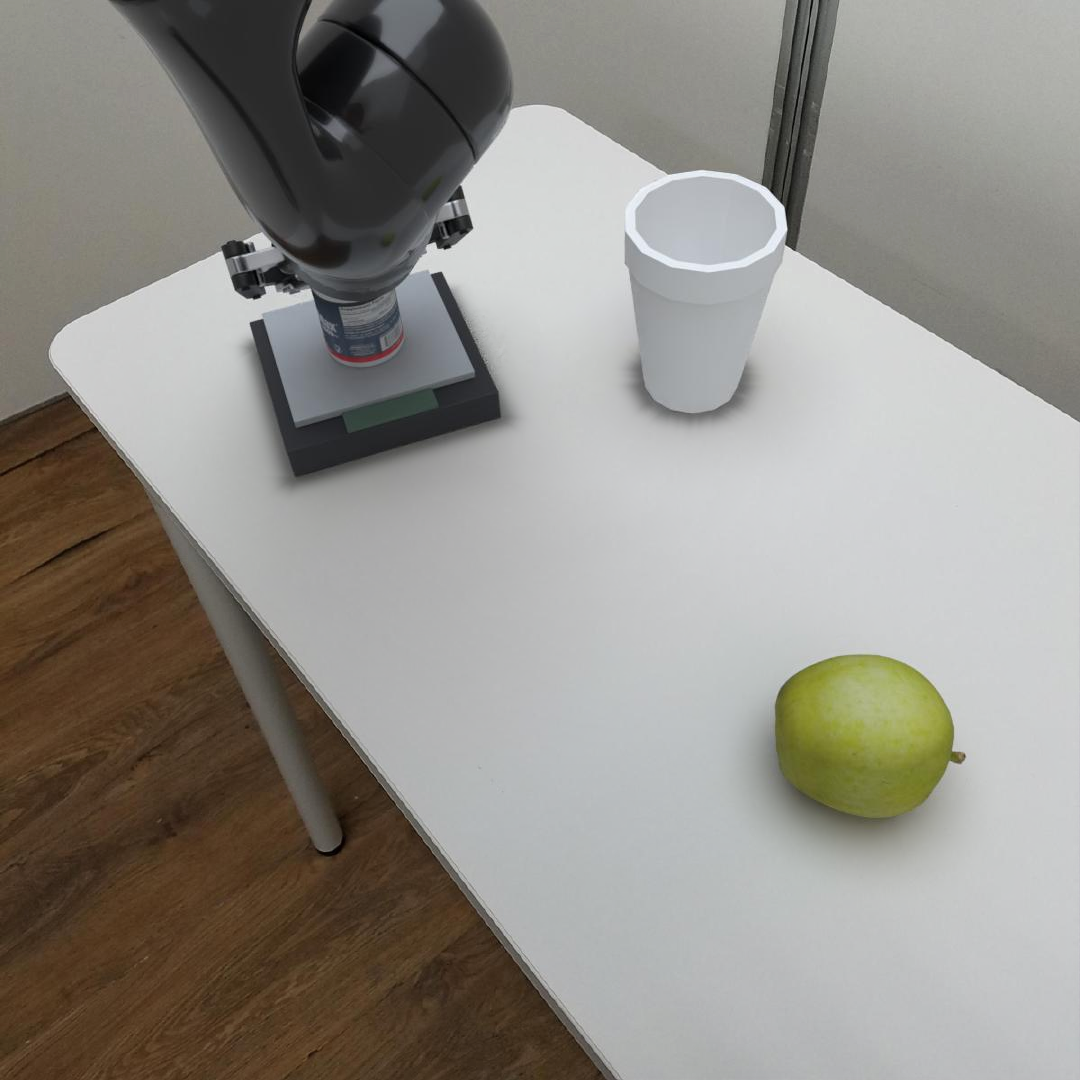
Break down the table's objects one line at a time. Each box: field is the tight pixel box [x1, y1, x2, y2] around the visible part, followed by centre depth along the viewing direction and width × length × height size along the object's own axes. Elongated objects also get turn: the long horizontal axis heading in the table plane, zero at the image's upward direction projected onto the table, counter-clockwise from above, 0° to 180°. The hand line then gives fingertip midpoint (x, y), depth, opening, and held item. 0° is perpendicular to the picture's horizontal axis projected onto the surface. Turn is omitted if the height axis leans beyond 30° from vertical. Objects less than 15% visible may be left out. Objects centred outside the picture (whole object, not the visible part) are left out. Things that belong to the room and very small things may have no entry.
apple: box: [774, 653, 967, 819], centre depth 54 cm, size 8×9×8 cm
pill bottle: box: [310, 288, 404, 368], centre depth 70 cm, size 5×5×9 cm
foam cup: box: [624, 169, 788, 414], centre depth 69 cm, size 10×9×13 cm
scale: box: [249, 269, 502, 477], centre depth 74 cm, size 14×13×3 cm
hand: (344, 262), depth 70 cm, fingers open, 6 cm apart
